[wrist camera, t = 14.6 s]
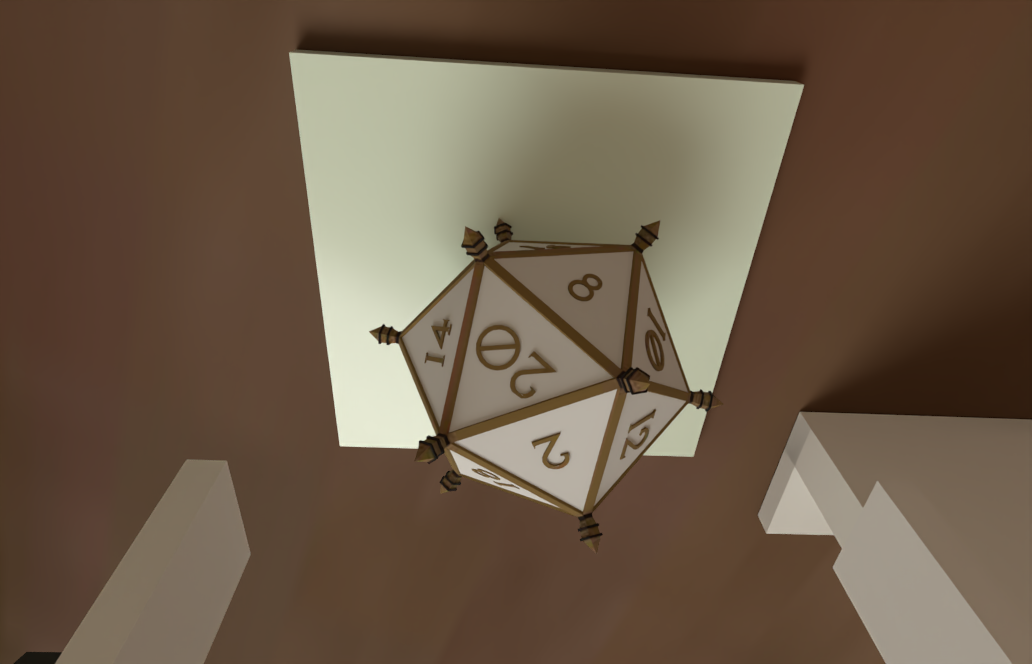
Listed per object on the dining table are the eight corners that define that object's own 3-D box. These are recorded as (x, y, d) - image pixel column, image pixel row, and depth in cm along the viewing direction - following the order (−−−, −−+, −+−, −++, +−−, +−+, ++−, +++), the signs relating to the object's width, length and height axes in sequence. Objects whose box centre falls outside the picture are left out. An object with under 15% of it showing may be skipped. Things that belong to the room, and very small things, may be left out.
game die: (480, 264, 23) (247, 369, 16) (637, 112, 17) (381, 169, 10) (613, 454, 23) (435, 651, 16) (820, 364, 17) (689, 612, 10)
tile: (689, 446, 24) (693, 456, 24) (343, 435, 24) (339, 446, 23) (795, 80, 17) (803, 84, 16) (295, 49, 16) (289, 52, 16)
